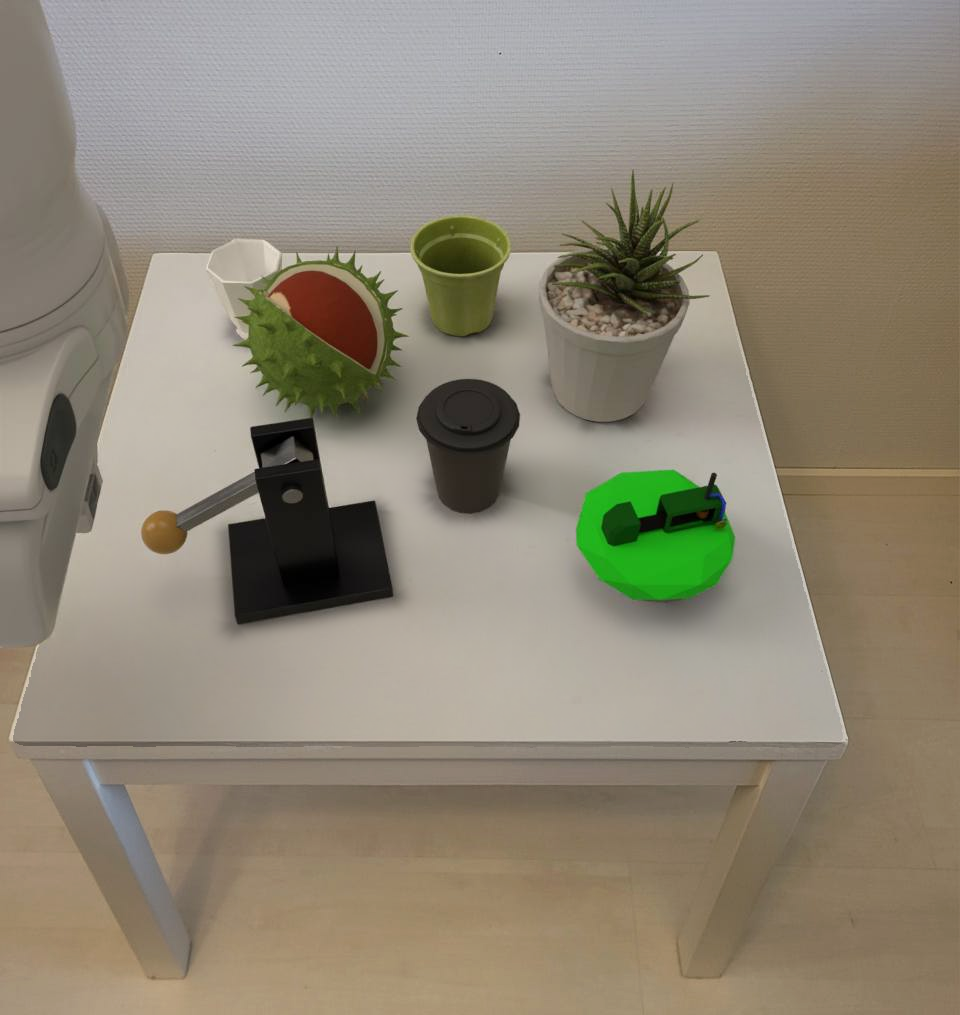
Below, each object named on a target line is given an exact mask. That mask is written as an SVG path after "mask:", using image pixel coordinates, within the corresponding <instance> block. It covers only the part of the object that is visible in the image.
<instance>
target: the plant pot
mask: <svg viewBox="0 0 960 1015" xmlns="http://www.w3.org/2000/svg"><path fill="white" fill-rule="evenodd" d="M409 245H410V247H409V248H410V255H411V257H412V260H413V261H414V262H415V264H416V265H417V267H418V269H419V271H420V272H421V276H422V282H423V285H424V290H425V294H426V299H427V303H428V309H429V313H430V317H431V320H432V322H433V324H434V325H435V327H436V328H437V329H438V330H439V331H441V332H442V333H445V334H447V335H450V336H455V337H467V336H468V335H471V334H473V333H481V332H484V331H485V330H486V329H488V327H489V326H490V325H491V323H492V321H493V317H494V311H495V307H496V306H495V305H496V300H497V296H498V289H499V284H500V277H501V273H502V271H503V268H504V266H505V264H506V262H507V261H508V259H509V257H510V255H511V252H512V241H511V238H510V236H509V235H508V233H507V231H506V230H504V229H503V227H502V226H499V225H498V224H497V223H495V222H494V221H492V220H490V219H486V218H484V217H479V216H475V215H466V214H457V215H449V216H443V217H439V218H435V219H432V220H431V221H428V222H426V223H425V224H424V225H422V226H421V227H419V228H418V229H417V230H416V232H414V234H413V235H412V237H411V240H410V244H409Z"/></svg>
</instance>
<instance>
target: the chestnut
mask: <svg viewBox="0 0 960 1015" xmlns="http://www.w3.org/2000/svg"><path fill="white" fill-rule="evenodd" d="M295 254H296V263H295V264H292V265H288V266H286V267H284V268H282V270H281V271H279V272H278V273H276V275H275V276H274V277H273V279H272V280H271V281H269V280H267V279H265V278H264V277H263V276H261V277H262V278H263V280H264V281H265V283H266V284H267V286H266V288H265V289H264V290H263V289H253V288H250V287H246V286H244V287H245V288H247V289H248V290H249V291H250V292H251V293H252V294H253V295H254V296H255V298H254V299H253V300H243V299H240V298H238V299H239V300H240V301H242V302H243V303H245V304H246V305H247V306H248V307H249V308H247V309H249V310H251V312H250V315H248V316H239V317H235V318H238V319H240V320H242V322H243V323H245V324H247V325H249V335H248V338H247V339H246V340H244V341H241V342H239V343H235V344H232V346H233V347H244V348H247V349H249V350H250V352H251V355H252V357H251V358H249V360H247V361H246V362H245V363H244V364H242V366H241V367H242V368H243V367H246V366H252V365H256V367H255V368H254V369H253V370H251V371H250V372H249V374H253V373H257V372H260V373H261V374H262V376H261V377H262V378H261V380H260V381H259V383H258V384H257V385H256V386H255V389H257V388H259V387H262V386H264V385H266V384H267V386H266V389H265V390H264V392H263V394H262V397H264V396H266V395H267V394H268V393H270V392H271V391H275V390H276V391H277V392H278V397H277V401H276V405H275V407H277V406H278V405H279V404H280V403H281V402H282V401H284V399H286V407H285V409H284V413H286V412H287V411H288V410H289V409H290V407H291V406H292V405H293V404H294V406H296V405H297V404H298V403H301V404H304V405H306V406H307V407H308V411H309V418H313V416H314V414H315V411H316V409H317V408H318V407H319V410H320V414H323V413H324V409H325V407H329V408H330V409H331V410H332V412H333V414H334V417H335V420H336V421H337V420H338V408H339V405H341V404H343V405H344V406H345V407H346V408H347V403H349V404H350V405H351V406H352V407H353V408H354V409H355V410H356V411H357V412H358V414H359V415H361V411H360V406H359V403H358V402H359V398H360V397H361V398H362V399H363V401H364V402H365V403H367V402H368V401H367V400H369V395H368V393H367V391H369V390H370V389H371V388H372V387H374V388H376V389H379V391H381V392H384V390H383V389H382V388H381V386H380V384H381V385H383V382H382V381H381V380H380V378H382V377H385V378H388V379H392V380H393V381H394V380H395V381H398V379H396V377H394V376H393V375H392V374H391V373H390V372H389V371H388V369H387V367H389V366H392V367H393V366H394V367H399V368H403V367H402V365H400V364H399V363H397V362H396V361H394V360H393V358H392V357H391V353H392V352H393V351H394V352H395V351H403V349H402V348H400V347H399V346H396V345H395V344H394V341H395V340H396V339H401V338H408V337H410V335H407V334H405V333H402V332H399V331H397V330H395V328H394V322H393V320H392V317H395V316H397V315H398V314H397V312H400V311H402V310H403V307H399V308H390V307H388V306H389V305H388V304H389V301H390V299H392V297H393V296H394V295H395V294H397V292H399V290H398V289H397V290H394V291H391V292H388V293H383V292H380V290H379V288H380V286H381V285H382V284H383V282H385V279H384V278H383V279H382V280H379V281H378V279H379V277H380V275H381V273H382V271H381V270H379V272H378V273H377V274H376V275H373V276H372V277H367V276H366V275H364V273H362V268H363V265H360V267H359V268H358V269H357V268H356V265H355V263H356V250H354V252H353V254H352V256H351V257H350V259H349V260H348V261H347V262H345V263H344V262H342V261H340V259H339V258H340V256H339V245H336V248H335V252H334V254H333V257H332V258H331V257H330V253H329V252H328V253H327V258H326V260H320V259H319V260H304V261H302V260H301V258H300V256H299V253H298V252H296V253H295ZM377 281H378V282H377Z"/></svg>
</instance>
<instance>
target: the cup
mask: <svg viewBox="0 0 960 1015" xmlns="http://www.w3.org/2000/svg"><path fill="white" fill-rule="evenodd" d="M209 255H210V256H209V258H208V262H207V264H206V267H205V270H206V272H207V274H208V277H209V279H210V281H211V283H212V285H213V287H214V289H215V292H216V293H217V297H218V298H219V301H220V302H221V305H222V307H223V309H224V311H225V312H226V314H227V317H228V318H229V319H230V321H231V322H232V324H233V325H234V326H235V327H236V329H235V331H236V334H237V335H238V336H240V337H241V338H242V339H243V340H244V341H245V340H246V339H247V338H248V335H249V325H247V324H245V323H243V322H242V320H240V319H238V318H235V317H239V316H248V315H250V312H251V310H249V309H247V308H249V307H248V306H247V305H246V304H245V303H243V302H242V301H240V300H239V299H238V298H240V299H243V300H253V299H254V298H255V296H254V295H253V294H252V293H251V292H250V291H249V290H248V289H247V288H245V287H244V286H246V287H250V288H253V289H263V290H264V289H265V288H266V286H267V284H266V283H265V281H264V280H263V278H262V277H261V276H263V277H264V278H265V279H267V280H269V281H271V280H272V279H273V277H274V276H275V275H276V273H278V272H279V271H281V270H283V256H282V255H283V253H282V252H281V251H280V250H279V249H277V247H275V246H274V245H272V244H271V243H270V242H268V240H266V239H253V238H239V237H238V238H234V239H231V241H229V242H227V243H225V244H223V245H220V246H219V247H217V248H214V249H212V250H211V252H210V254H209Z"/></svg>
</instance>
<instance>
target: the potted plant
mask: <svg viewBox="0 0 960 1015" xmlns="http://www.w3.org/2000/svg"><path fill="white" fill-rule="evenodd" d="M635 184H636V183H635V170H634V169H632V170H631V177H630V195H629V214H628V216H629V217H628V228H627V225H626V223H625V220H624V218H623V215H622V213H621V210H620V207H619V204H618V202H617V198H616V196H615V193H614V189H613V187H612V186H611V187H610V191H611V196H612V200H613V206H612V205H610V204H609V203H608V202H605V204H606V205H607V206H608V208H609V209H610V210H611V211H612V212H613V213H614V216H615V217H616V221H617V223H618V232H619V240H618V239H615V238H613V237H610V236H609V237H608V236H605V235H604V234H603V233H601V232H600V231H599V230H597V229H596V228H595V227H594V226H591V225H590V224H588V223H587V222H585V221H584V220H583V219H581V222H582V223H583V224H584V225H585V227H587V228H589V230H591V231H592V233H594V234H595V235H596V236H595V240H598V242H597V241H596V242H595V244H597V245H599V246H597V245H594V244H593V243H591V242H588V241H587V240H584V239H582V238H580V237H577V236H574V235H572V234H567V233H561V235H562V236H565V237H568V238H570V239H573V240H575V241H577V242H568V243H560V244H559V247H562V246H575V247H580V249H576V250H573V251H571V252H568V253H566V254H561V255H559V256H558V257H557V259H556V260H554V261H553V262H552V263H551V264H550V265H549V266H548V267H547V268H546V269H545V270H544V271H543V273H542V275H541V278H540V280H539V285H538V297H539V298H538V299H539V306H540V312H541V316H542V318H543V324H544V333H545V342H546V350H547V360H548V368H549V369H548V370H549V376H550V377H549V378H550V385H551V389H552V392H553V395H554V397H555V399H556V401H557V403H559V404H560V405H561V406H562V407H563V408H564V409H565V410H566V411H567V412H569V413H571V414H573V415H574V416H576V417H578V418H581V419H584V420H586V421H593V422H599V423H602V422H603V423H605V422H615V421H619V420H624V419H627V418H628V417H630V416H633V415H634V414H635V413H636V412H637V411H639V410H640V409H641V408H642V407H643V406H644V403H645V402H646V400H647V398H648V396H649V394H650V393H651V390H652V388H653V387H654V386H653V385H654V384H655V381H656V379H657V377H658V374H659V372H660V370H661V368H662V365H663V363H664V361H665V358H666V356H667V353H668V351H669V350H670V347H671V344H672V342H673V340H674V338H675V335H676V334H677V333H678V332H679V331H680V329H681V327H682V325H683V322H684V320H685V318H686V316H687V312H688V309H689V306H690V303H691V302H690V300H698V299H702V298H703V299H704V298H709V297H710V296H711V295H710V294H704V295H701V294H700V295H690V293H689V292H690V291H689V288H688V286H687V284H686V283H685V281H684V278H683V277H682V275H681V274H680V273H682V272H683V271H685V270H687V269H689V268H690V267H692V266H693V265H695V264H696V263H697V262H698V261H699V260H700V259H701V258H702V257H703V256H704V254H701V255H699V257H698V258H696V259H695V260H693V261H692V262H689V263H687V264H685V265H683V266H680V267H678V268H676V269H675V268H673V267H672V265H670V264H669V263H668V262H669V261H671V260H674V257H675V256H676V255H677V254H676V253H673V254H669V255H668V253H669V244H670V240H671V239H672V238H674V237H675V236H676V235H678V234H679V233H681V232H682V231H683V230H685V229H688V228H689V227H692V225H694V224H697V223H698V222H700V220H699V219H697V220H694V221H691V222H688V223H686V224H684V225H682V226H680V227H678V228H676V229H675V230H673V231H672V232H670V233H669V230H668V226H667V223H666V220H665V218H664V214H665V213H666V210H667V207H668V206H669V203H670V200H671V198H672V194H673V188H674V183H671V187H670V189H669V193H668V194H667V196H666V199H665V200H664V203H663V204H662V206H661V203H662V200H663V197H664V194H665V191H666V188H667V186H664V187H663V189H662V190H661V191H660V192H659V195H658V197H657V200H656V202H655V204H654V205H653V207H652V209H651V205H652V198H653V190H654V189H653V188H651V189H650V192H649V195H648V198H647V202H646V204H645V207H644V206H642V207H641V210H640V209H639V206H638V199H637V194H636V185H635ZM660 206H661V208H660ZM639 210H640V213H639ZM662 225H663V230H664V238H663V239H662V240H661V241H660V242H658V244H656V245H655V246H654V247H653V248H652V247H651V246H652V242H653V241H654V239H655V238H656V235H657V234H658V232H659V230H660V228H661V226H662ZM599 241H601V242H599ZM581 247H582V248H581ZM660 251H661V252H660Z"/></svg>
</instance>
